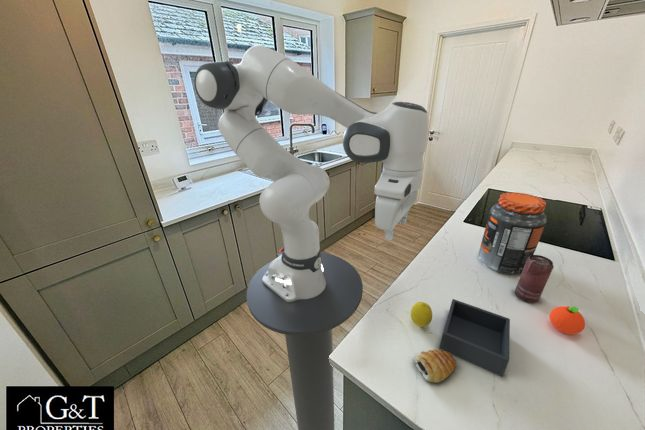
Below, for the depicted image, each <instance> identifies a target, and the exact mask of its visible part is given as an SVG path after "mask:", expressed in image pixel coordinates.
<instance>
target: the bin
mask: <svg viewBox="0 0 645 430" xmlns="http://www.w3.org/2000/svg"><path fill="white" fill-rule="evenodd" d="M510 329H511V319H510V318H509V317H506V316H504V315H500V314H498V313H495V312H492V311H488V310H487V309H483V308H480V307H478V306H475V305H472V304H470V303H469V304H468V303H466V302H464V301H460V300H458V299H454V298H452V300H451V304H450V307H449V310H448V313H447V317H446V321H445V325H444V327H443V331H442V335H441V339H440V343H439V348H438V350H442V351H447V352H449V353H451V354H452V355H453V356H455V357H457V358H459V359H461V360H464V361H466V362H468V363H470V364H473V365H475V366H477V367H480V368H482V369H484V370H486V371H488V372H490V373H492V374H495V375H496V376H500V377H503V375H504V373H505V370H506V369H507V368H508V367H507V366H508V364H509V362H510V337H511V336H510V335H511V334H510V332H511V330H510Z"/></svg>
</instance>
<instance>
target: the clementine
mask: <svg viewBox="0 0 645 430" xmlns="http://www.w3.org/2000/svg"><path fill="white" fill-rule="evenodd" d="M579 310H580V309H579V308H578V307H576V306H566V305H560V306H556V307H554V308H553V309H552V310H551V311H550V313H549V321H550V323H551V325H552V326H553V327H554V328H555V329H556V330H557V331H559V332H561V333H563V334H567V335H577V334H580V333H582V332H583V331H584V330H585V328H586V319H585V317H584V316H583V315H582V313H581V312H580V311H579Z"/></svg>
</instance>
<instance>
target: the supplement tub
mask: <svg viewBox="0 0 645 430" xmlns="http://www.w3.org/2000/svg"><path fill="white" fill-rule="evenodd" d="M497 201H498V202H497V203H495V204H494V205H493V206H492V207H490V210H489V213H488V217H487V221H486V225H485V228H484V231H483V235H482V239H481V242H480V247H479V250H478V258H479V260H480V262H481V263H482V264H484V265H485V266H486V267H488V269H490V270H492V271H495V272H497V273H501V274H506V275H519V274H520V275H521V273H522V271H523V268H524V266H525V263H526V260H527V258H528V257H530V256H531V255H535V252H536V250H537V248H538V245H539V243H540V239H541V237H542V235H543V232H544V229H545V227H546V225H547V220H548V219H547V215H546V213H545V210H546V206H547V201H546V200H544V199H543V198H541V197H539V196H537V195H533V194H529V193H524V192H517V191H516V192H515V191H514V192H513V191H510V192H503V193H501V194H500V195H499V198H498V200H497Z"/></svg>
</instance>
